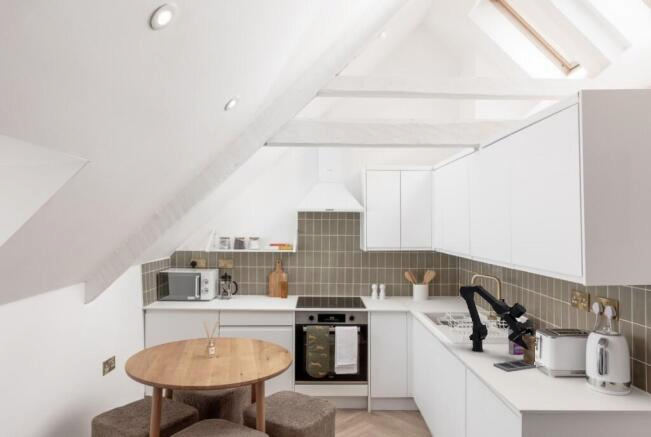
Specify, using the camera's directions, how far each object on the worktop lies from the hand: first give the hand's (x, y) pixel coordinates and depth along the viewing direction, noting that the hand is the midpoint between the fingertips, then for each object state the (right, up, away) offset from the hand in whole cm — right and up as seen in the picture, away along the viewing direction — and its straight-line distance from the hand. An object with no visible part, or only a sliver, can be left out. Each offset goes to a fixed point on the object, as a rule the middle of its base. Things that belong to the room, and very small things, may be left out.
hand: (532, 347), depth 227 cm
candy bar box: (+3, -10, +22) cm, 24 cm away
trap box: (-8, -9, -2) cm, 13 cm away
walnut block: (-1, -9, +1) cm, 9 cm away
